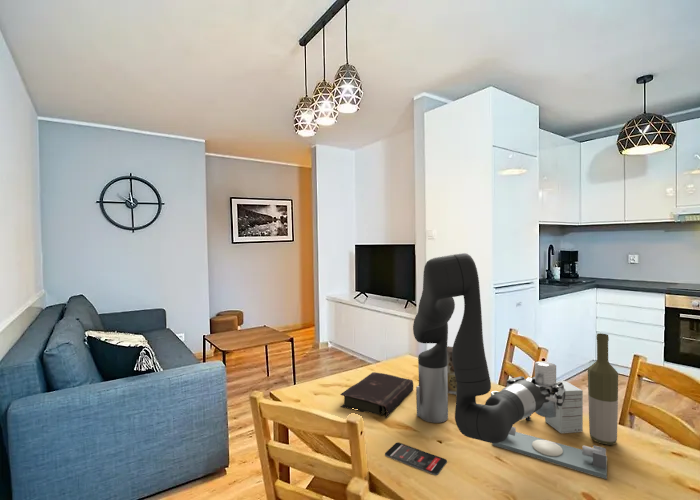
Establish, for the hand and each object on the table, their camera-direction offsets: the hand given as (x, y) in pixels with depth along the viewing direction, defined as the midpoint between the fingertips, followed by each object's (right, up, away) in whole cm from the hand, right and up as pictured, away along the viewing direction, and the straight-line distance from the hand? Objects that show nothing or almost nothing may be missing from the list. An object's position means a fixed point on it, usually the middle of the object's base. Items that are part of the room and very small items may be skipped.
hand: (549, 382), depth 97 cm
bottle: (+17, -18, +4) cm, 25 cm away
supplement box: (+11, -18, +12) cm, 24 cm away
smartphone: (-37, -20, -2) cm, 42 cm away
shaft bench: (-1, -18, -1) cm, 18 cm away
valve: (-2, -18, +20) cm, 27 cm away
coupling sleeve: (-2, -8, -2) cm, 8 cm away
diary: (-44, -19, +35) cm, 59 cm away
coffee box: (-13, -18, +39) cm, 45 cm away
